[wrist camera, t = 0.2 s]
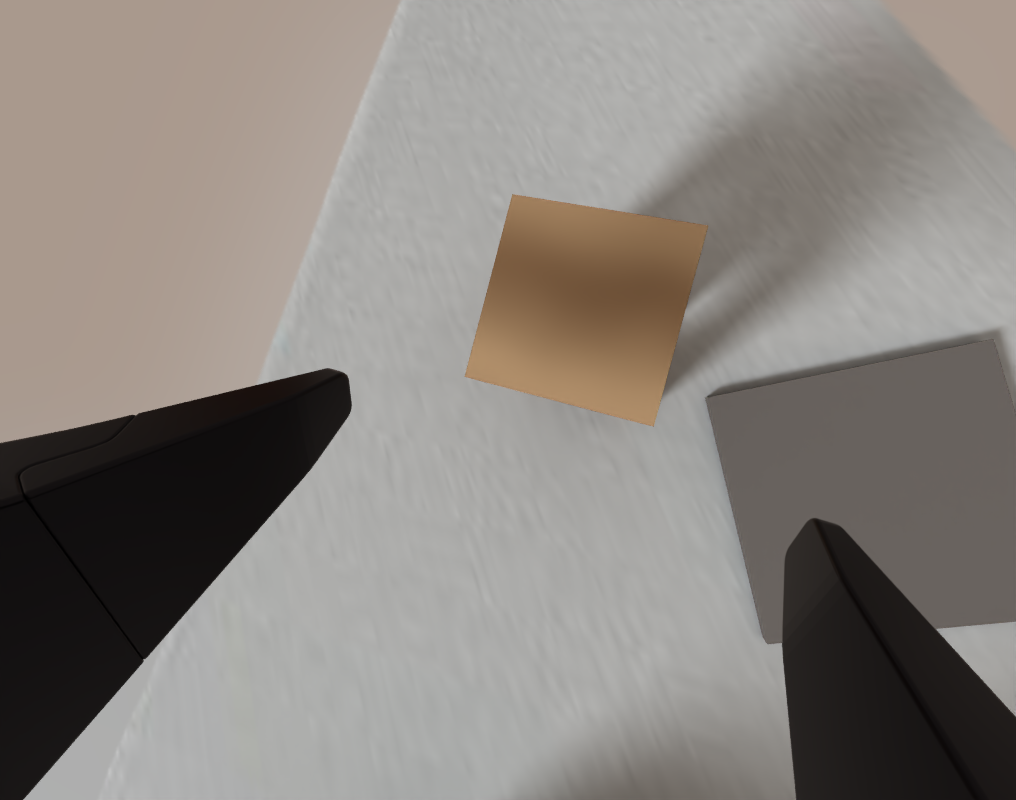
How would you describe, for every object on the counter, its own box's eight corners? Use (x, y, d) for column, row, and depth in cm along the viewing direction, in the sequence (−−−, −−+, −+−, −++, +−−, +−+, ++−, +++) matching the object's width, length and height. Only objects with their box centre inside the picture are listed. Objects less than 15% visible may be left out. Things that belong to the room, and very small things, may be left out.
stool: (638, 422, 22) (653, 426, 13) (520, 391, 24) (464, 376, 15) (671, 301, 22) (708, 225, 13) (551, 277, 23) (512, 194, 15)
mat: (1061, 609, 18) (1075, 615, 18) (763, 637, 21) (767, 644, 20) (981, 341, 19) (993, 339, 19) (705, 397, 22) (707, 397, 21)
